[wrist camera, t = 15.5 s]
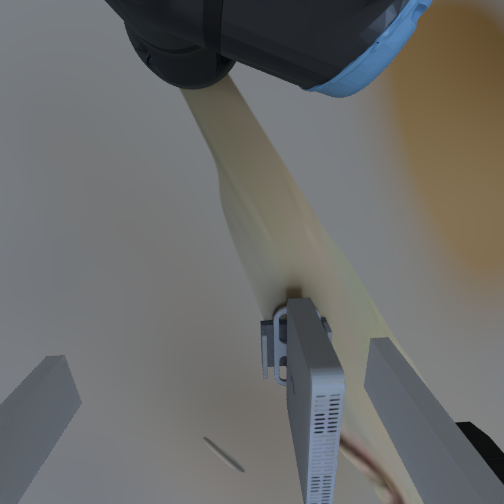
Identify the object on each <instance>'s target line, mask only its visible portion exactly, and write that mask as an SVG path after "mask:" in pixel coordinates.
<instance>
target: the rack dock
mask: <svg viewBox="0 0 504 504" xmlns="http://www.w3.org/2000/svg"><path fill="white" fill-rule="evenodd" d="M320 319H321V322H322V325H323V327H324V329H325V331H326V333H327V335H328V338H329V340H330V342H331V341H332V331H331V329H330V327H329V325H328V323H327V321H326V318H320ZM279 339H280V340H281V341H284V342H286V341H287V320H279ZM261 346H262V366H263V378H264V379H267V378H268V372H267V371H268V369H267V367H272V366H274V327H273V320H270V321H261ZM279 366H287V357H286V356H283V357H281V358H280V360H279Z"/></svg>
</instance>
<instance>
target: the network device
mask: <svg viewBox="0 0 504 504" xmlns="http://www.w3.org/2000/svg"><path fill="white" fill-rule="evenodd" d="M283 314H287V341H286V342H284V341H281V340H280V339H279V318H280V316H281V315H283ZM273 327H274V376H275V380H276V381H277V383H279V384H280V385H283V386H287V409H288V415H289V420H290V426H291V432H292V438H293V444H294V449H295V455H296V461H297V467H298V472H299V478H300V484H301V490H302V495H303V501H304V504H333V495H334V486H335V477H336V467H337V458H338V448H339V439H340V430H341V420H342V411H343V402H344V392H345V378H344V372H343V369H342V366H341V364H340V362H339V359H338V357H337V355H336V353H335V351H334V349H333V346H332V344H331V342H330V340H329V338H328V335H327V333H326V331H325V329H324V327H323V325H322V322H321V319H320V314H319V312H318V311H317V309H316V308H315V307H314V305H313V303H312V301H311V299H310V298H292V299H287V306H285V307H282V308H281V309H279V310H278V311H277V312H276V313H275V315H274V319H273ZM283 356H286V357H287V379H285V380H284V379H281V378H280V377H279V360H280V358H281V357H283Z"/></svg>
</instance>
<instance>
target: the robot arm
mask: <svg viewBox="0 0 504 504" xmlns="http://www.w3.org/2000/svg"><path fill="white" fill-rule="evenodd" d="M105 1H106V2H107V3H108V4H109V5H110V6H111V7H112V9H113V10H114V11H115V12H116V13H117V14H118V15H119V16H120V17H121V18H122V19H123V20H124V24H125V28H126V31H127V34H128V36H129V39H130V41H131V43H132V45H133V47H134V49H135V51H136V52H137V54H138V56H139V57H140V58H141V60H142V61H143V62H144V63H145V64H146V65H147V67H148V68H149V69H150V70H152V72H154V73H155V74H156V75H157V76H158V77H160V78H161V79H162V80H164V81H165V82H167V83H169V84H171V85H173V86H176V87H179V88H184V89H201V88H205V87H208V86H211V85H213V84H215V83H217V82H218V81H220V80H221V79H222V78H223V77H224V76H226V75H227V73H228V72H229V71H230V70H231V69H232V67H233V66H234V64H235V63H236V61H238V62H240V63H242V64H245V65H247V66H250V67H253V68H255V69H257V70H260V71H263V72H265V73H267V74H270V75H273V76H275V77H278V78H280V79H283V80H285V81H288V82H290V83H293V84H295V85H298V86H299V87H300V88H301V89H303V90H305V91H307V90H308V91H310V92H312V91H316V92H319V93H322V94H325V95H329V96H331V97H337V98H339V97H340V98H341V97H347V96H350V95H352V94H355V93H357V92H359V91H360V90H362V89H363V88H365V87H366V86H367V85H369V84H370V83H371V82H372V81H373V80H374V79H375V78H376V77H377V76H378V75H379V74H380V73H381V72H382V71H383V70H384V69H385V68H386V67H387V66H388V65H389V64H390V63H391V61H392V60H393V59H394V58H395V57H396V55H397V54H398V53H399V52H400V50H401V49H402V48H403V46H404V45H405V44H406V42H407V41H408V40H409V38H410V36H411V35H412V34H413V32H414V31H415V29H416V27H417V25H416V23H417V19H418V18H419V17H420V16H421V15H422V13H423V12H424V11H426V9H427V8H429V6H430V4H431V2H432V0H105ZM364 388H365V390H366V392H367V393H368V395H369V397H370V399H371V401H372V403H373V405H374V407H375V409H376V411H377V413H378V415H379V417H380V419H381V421H382V423H383V425H384V427H385V428H386V430H387V432H388V434H389V436H390V438H391V440H392V442H393V444H394V446H395V448H396V450H397V452H398V454H399V456H400V458H401V460H402V461H403V463H404V465H405V467H406V469H407V471H408V473H409V475H410V477H411V479H412V481H413V483H414V485H415V487H416V489H417V491H418V493H419V495H420V496H421V498H422V500H423V502H424V504H504V453H503V452H502V451H501V450H500V448H499V447H498V446H497V445H496V444H495V443H494V441H493V440H492V439H491V438H490V437H489V436H488V435H486V434H485V433H484V432H483V431H481V430H480V429H478V428H477V427H476V426H475V425H473V424H472V423H471V422H457V423H456V422H454V421H453V420H452V418H451V417H450V416H449V415H448V413H447V412H446V411H445V409H444V408H443V407H442V406H441V404H440V403H439V402H438V400H437V399H436V398H435V397H434V395H433V394H432V393H431V391H430V390H429V389H428V388H427V386H426V385H425V384H424V383H423V381H422V380H421V379H420V377H419V376H418V375H417V374H416V372H415V371H414V370H413V368H412V367H411V366H410V365H409V363H408V362H407V361H406V359H405V358H404V357H403V356H402V354H401V353H400V352H399V351H398V349H397V348H396V347H395V345H394V344H393V343H392V342H391V340H390V339H389V338H388V337H385V338H371V340H370V347H369V354H368V361H367V368H366V375H365V382H364ZM81 404H82V402H81V399H80V396H79V393H78V391H77V388H76V385H75V382H74V379H73V377H72V374H71V371H70V368H69V366H68V363H67V360H66V357H65V355H61V356H46V357H45V359H44V360H43V361H42V362H41V363H40V364H39V365H38V366H37V367H36V368H35V369H34V370H33V371H32V372H31V373H30V374H29V375H28V376H27V377H26V378H25V379H24V380H23V381H22V383H21V384H20V385H19V386H18V387H17V388H16V389H15V390H14V391H13V392H12V393H11V394H10V395H9V396H8V397H7V398H6V399H5V400H4V401H3V402H2V403H1V404H0V504H18V502H19V501H20V499H21V498H22V496H23V494H24V493H25V491H26V490H27V488H28V487H29V485H30V483H31V482H32V480H33V479H34V477H35V476H36V474H37V472H38V471H39V469H40V468H41V466H42V465H43V463H44V462H45V460H46V458H47V457H48V455H49V454H50V452H51V451H52V449H53V447H54V446H55V444H56V443H57V441H58V440H59V438H60V436H61V435H62V433H63V432H64V430H65V429H66V427H67V426H68V424H69V422H70V421H71V419H72V418H73V416H74V414H75V413H76V412H77V410H78V408H79V407H80V405H81Z"/></svg>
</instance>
